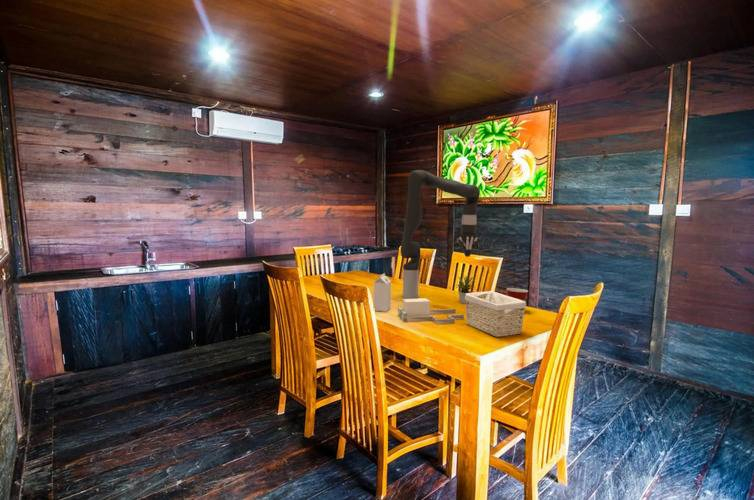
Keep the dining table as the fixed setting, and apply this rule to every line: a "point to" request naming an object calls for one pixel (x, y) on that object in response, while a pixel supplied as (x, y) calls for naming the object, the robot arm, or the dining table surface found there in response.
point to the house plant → (464, 288)
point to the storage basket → (495, 313)
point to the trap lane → (449, 320)
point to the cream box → (416, 307)
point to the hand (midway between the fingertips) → (467, 256)
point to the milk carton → (382, 294)
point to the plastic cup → (517, 293)
